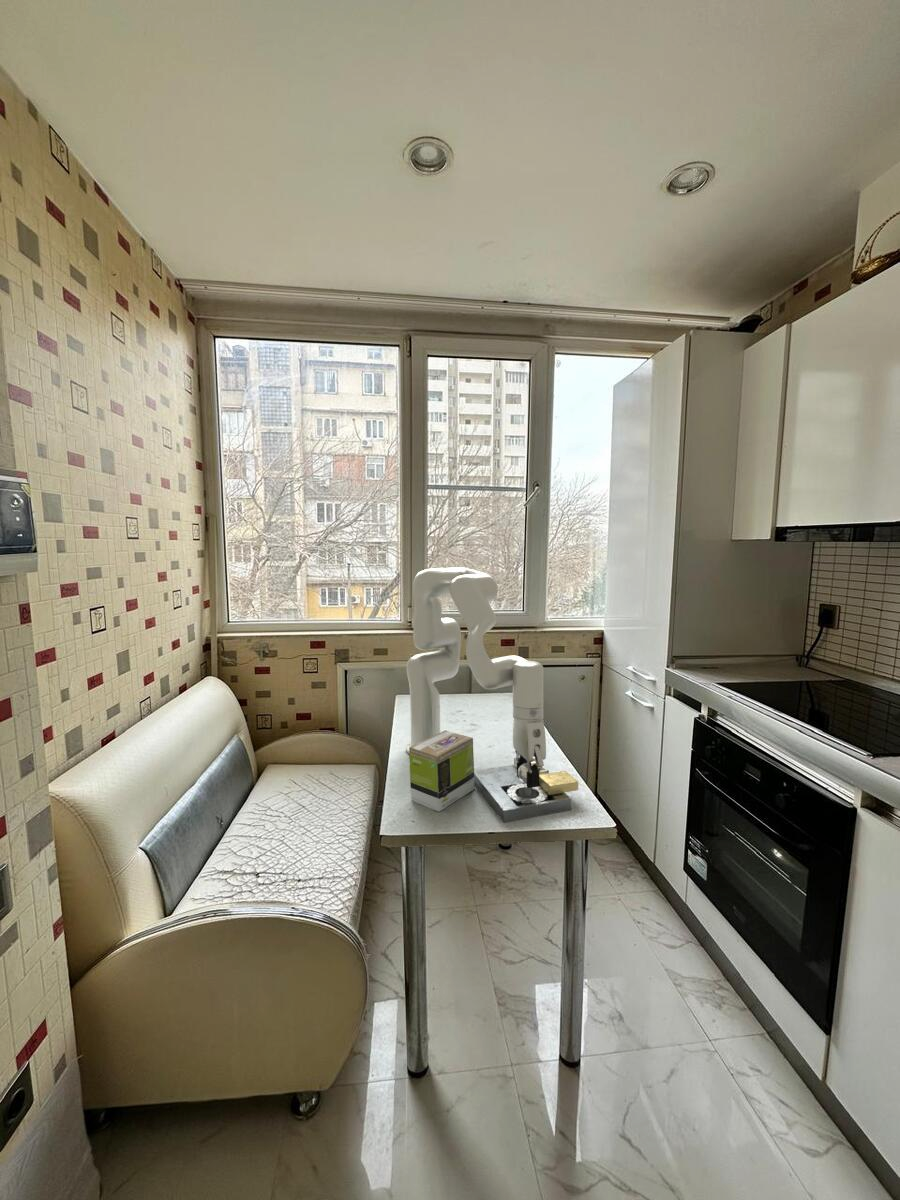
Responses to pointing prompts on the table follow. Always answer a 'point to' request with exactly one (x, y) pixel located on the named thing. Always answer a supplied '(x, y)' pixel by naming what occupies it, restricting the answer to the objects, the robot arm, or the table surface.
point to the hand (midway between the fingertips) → (527, 780)
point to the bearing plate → (517, 795)
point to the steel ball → (523, 772)
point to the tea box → (441, 769)
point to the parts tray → (543, 771)
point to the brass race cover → (558, 782)
